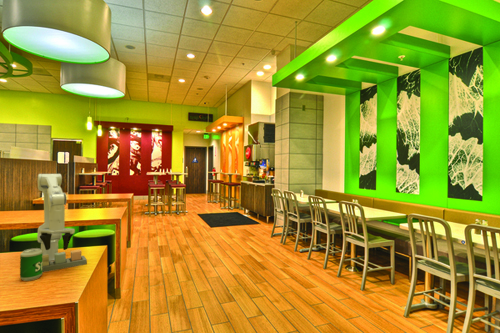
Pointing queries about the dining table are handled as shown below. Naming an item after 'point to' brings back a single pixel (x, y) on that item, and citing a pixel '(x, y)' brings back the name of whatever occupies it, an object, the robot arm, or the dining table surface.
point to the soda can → (31, 264)
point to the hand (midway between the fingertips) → (56, 249)
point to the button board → (64, 264)
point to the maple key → (45, 260)
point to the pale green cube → (60, 257)
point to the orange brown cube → (75, 255)
